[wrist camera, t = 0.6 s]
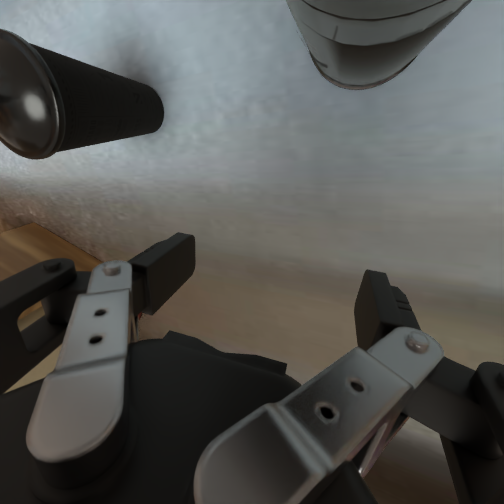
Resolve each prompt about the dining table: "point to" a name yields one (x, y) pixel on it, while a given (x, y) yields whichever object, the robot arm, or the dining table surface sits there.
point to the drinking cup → (66, 102)
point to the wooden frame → (37, 253)
